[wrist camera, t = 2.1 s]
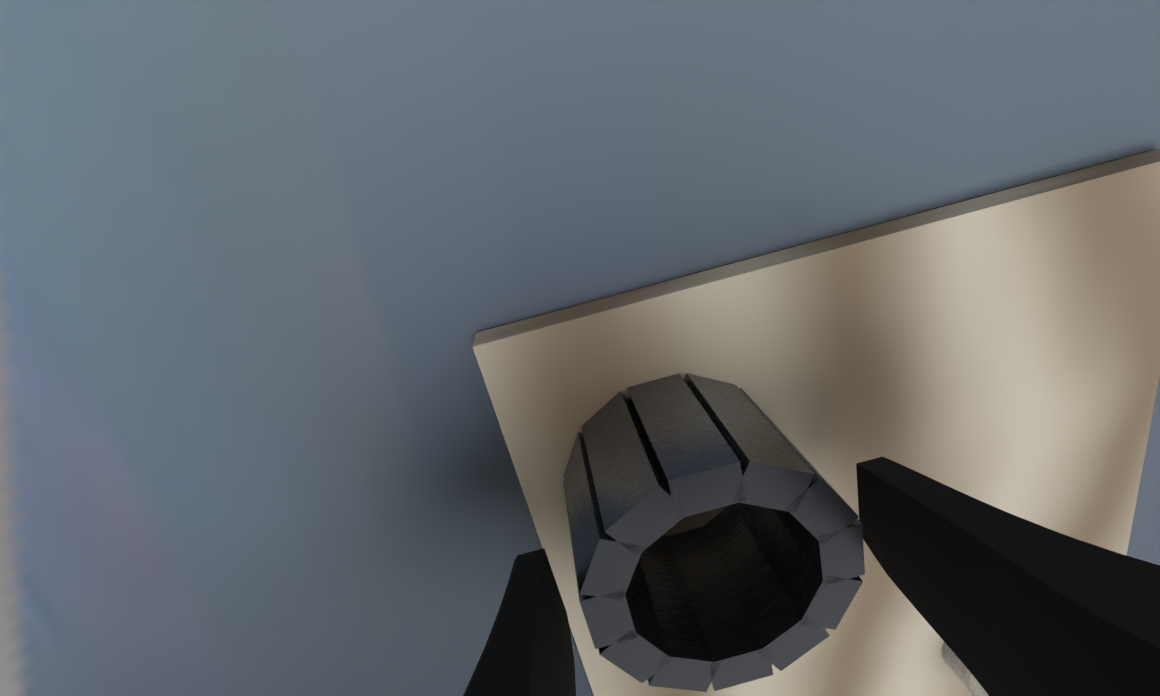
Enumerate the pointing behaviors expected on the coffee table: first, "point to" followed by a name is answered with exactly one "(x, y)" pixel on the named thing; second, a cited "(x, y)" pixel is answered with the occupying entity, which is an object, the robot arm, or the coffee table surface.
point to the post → (962, 672)
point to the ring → (704, 537)
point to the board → (883, 386)
